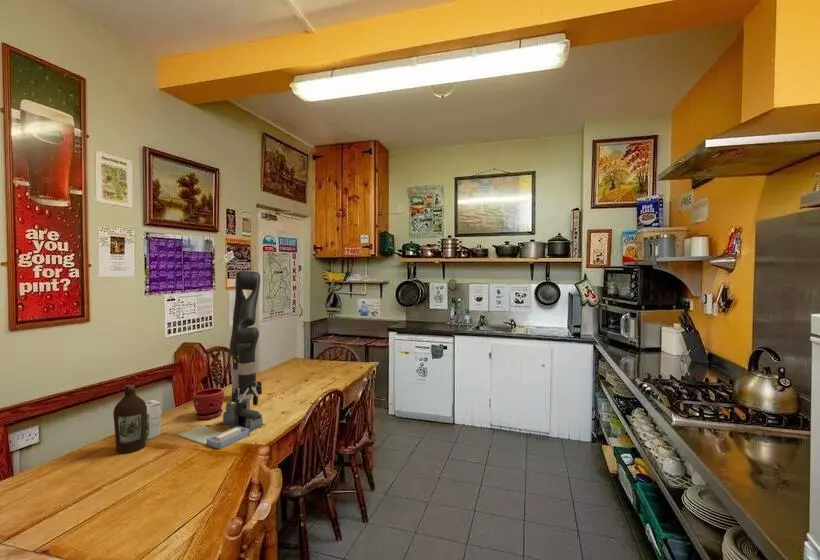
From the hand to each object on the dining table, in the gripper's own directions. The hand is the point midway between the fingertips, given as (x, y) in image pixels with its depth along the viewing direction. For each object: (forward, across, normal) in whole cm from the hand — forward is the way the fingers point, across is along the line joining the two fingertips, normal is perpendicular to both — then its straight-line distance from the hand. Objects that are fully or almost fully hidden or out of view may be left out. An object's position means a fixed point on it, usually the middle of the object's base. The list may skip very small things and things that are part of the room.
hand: (247, 407), depth 172 cm
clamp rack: (+8, 0, +3) cm, 9 cm away
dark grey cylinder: (+4, 0, +3) cm, 5 cm away
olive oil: (+9, -36, +24) cm, 44 cm away
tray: (+9, -13, -4) cm, 16 cm away
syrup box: (+9, -26, +28) cm, 39 cm away
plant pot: (+8, 0, +27) cm, 29 cm away
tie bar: (+8, -13, -5) cm, 16 cm away
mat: (+8, -15, +9) cm, 20 cm away
